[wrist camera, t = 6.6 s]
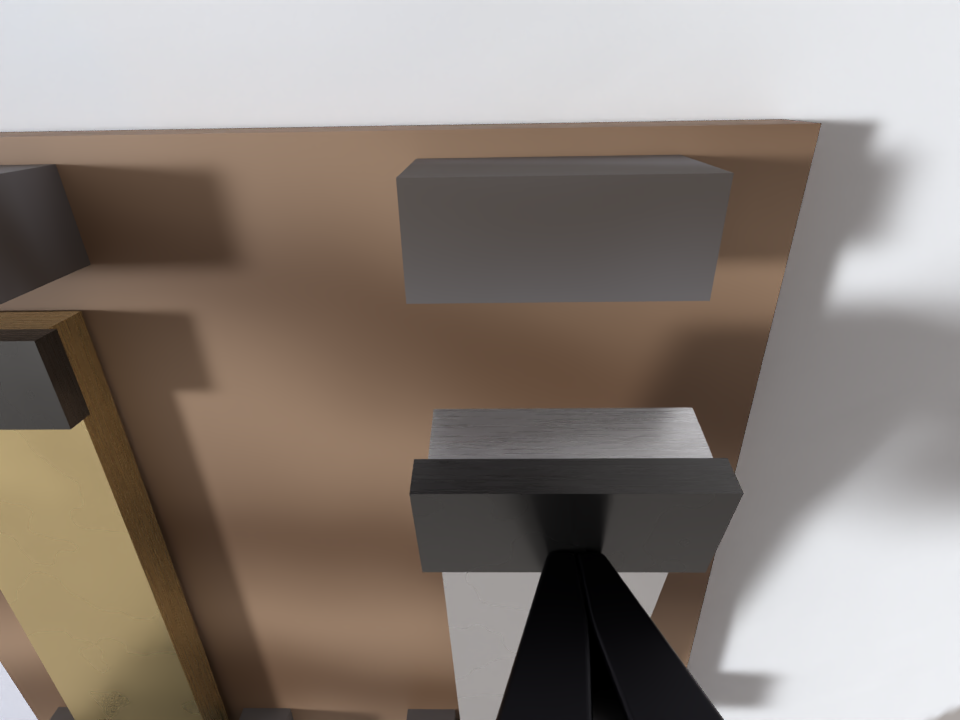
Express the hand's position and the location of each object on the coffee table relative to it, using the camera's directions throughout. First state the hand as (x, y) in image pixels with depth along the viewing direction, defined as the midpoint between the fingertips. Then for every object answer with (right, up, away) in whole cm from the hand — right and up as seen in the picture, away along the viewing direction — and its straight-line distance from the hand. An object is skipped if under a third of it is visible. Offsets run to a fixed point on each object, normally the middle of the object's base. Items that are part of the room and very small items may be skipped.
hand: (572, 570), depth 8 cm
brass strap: (-12, -3, +7) cm, 14 cm away
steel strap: (0, -4, +5) cm, 6 cm away
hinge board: (-6, -2, +8) cm, 10 cm away
